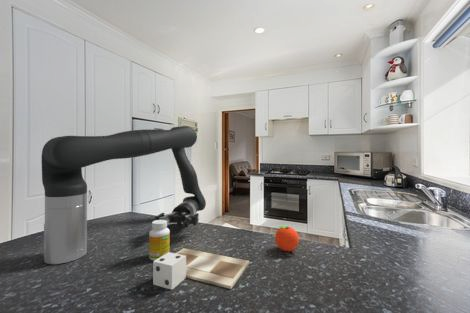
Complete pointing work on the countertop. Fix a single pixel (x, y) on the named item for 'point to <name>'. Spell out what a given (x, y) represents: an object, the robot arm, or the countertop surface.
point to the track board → (213, 268)
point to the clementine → (286, 238)
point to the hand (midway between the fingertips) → (170, 225)
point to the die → (169, 270)
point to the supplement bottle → (159, 239)
